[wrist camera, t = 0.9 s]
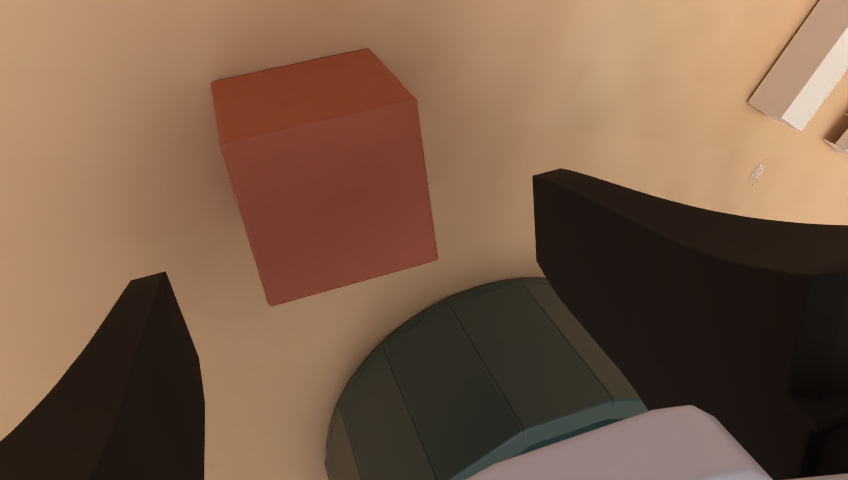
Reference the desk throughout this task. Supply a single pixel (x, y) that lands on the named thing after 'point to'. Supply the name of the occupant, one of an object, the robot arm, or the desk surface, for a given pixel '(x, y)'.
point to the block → (326, 173)
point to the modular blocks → (807, 70)
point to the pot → (475, 388)
